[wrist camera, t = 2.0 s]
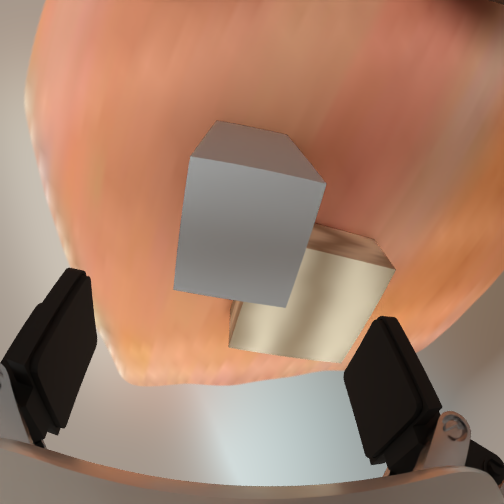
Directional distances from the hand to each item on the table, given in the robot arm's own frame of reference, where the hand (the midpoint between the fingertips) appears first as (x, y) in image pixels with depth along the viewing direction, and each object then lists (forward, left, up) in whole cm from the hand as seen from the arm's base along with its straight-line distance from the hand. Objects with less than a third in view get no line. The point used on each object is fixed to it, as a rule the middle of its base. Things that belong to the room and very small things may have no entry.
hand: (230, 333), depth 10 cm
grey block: (0, 0, -20) cm, 20 cm away
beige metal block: (-8, +10, -20) cm, 24 cm away
